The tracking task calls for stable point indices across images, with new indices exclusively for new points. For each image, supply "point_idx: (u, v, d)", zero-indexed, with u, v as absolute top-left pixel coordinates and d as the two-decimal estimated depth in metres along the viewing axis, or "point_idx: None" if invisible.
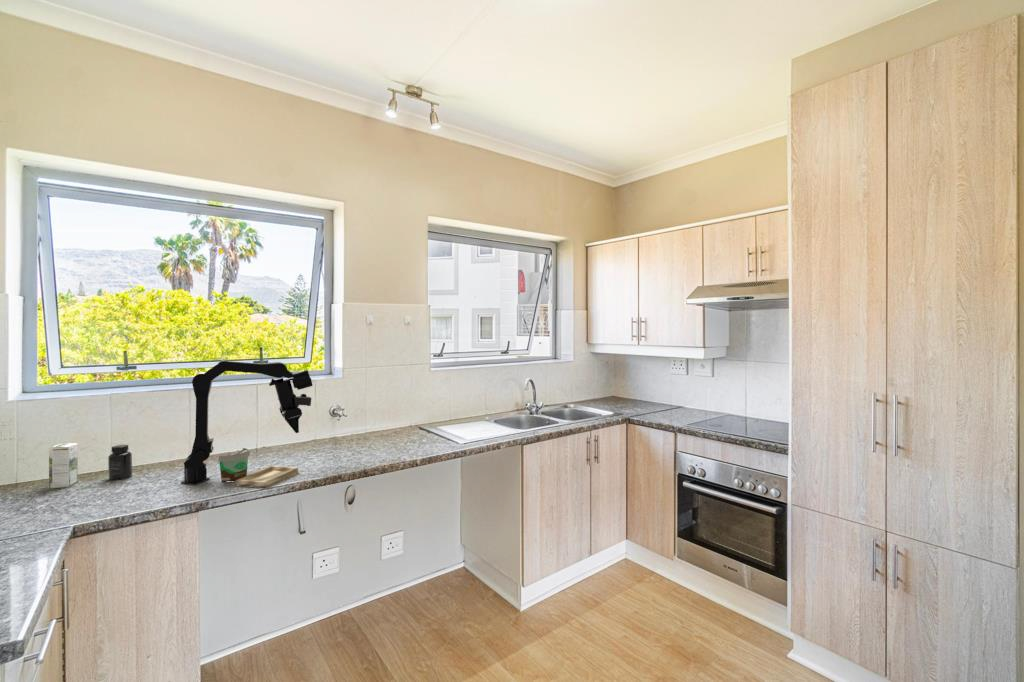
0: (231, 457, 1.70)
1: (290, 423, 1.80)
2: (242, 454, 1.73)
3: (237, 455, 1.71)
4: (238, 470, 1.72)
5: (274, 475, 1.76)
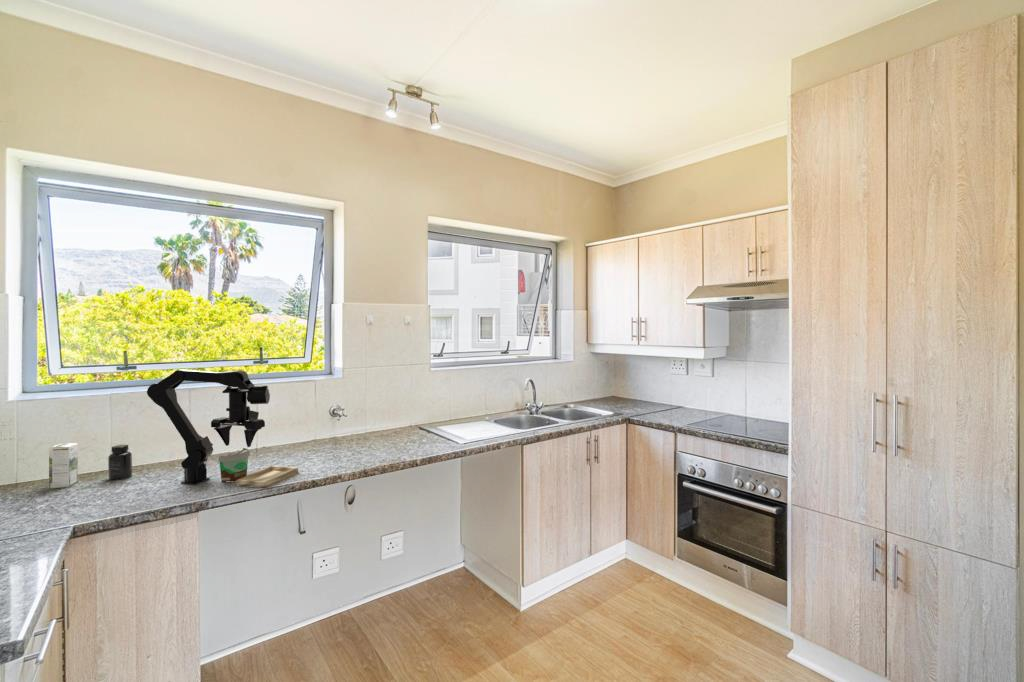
0: (231, 457, 1.70)
1: (249, 435, 1.71)
2: (242, 454, 1.73)
3: (237, 455, 1.71)
4: (238, 470, 1.72)
5: (274, 475, 1.76)
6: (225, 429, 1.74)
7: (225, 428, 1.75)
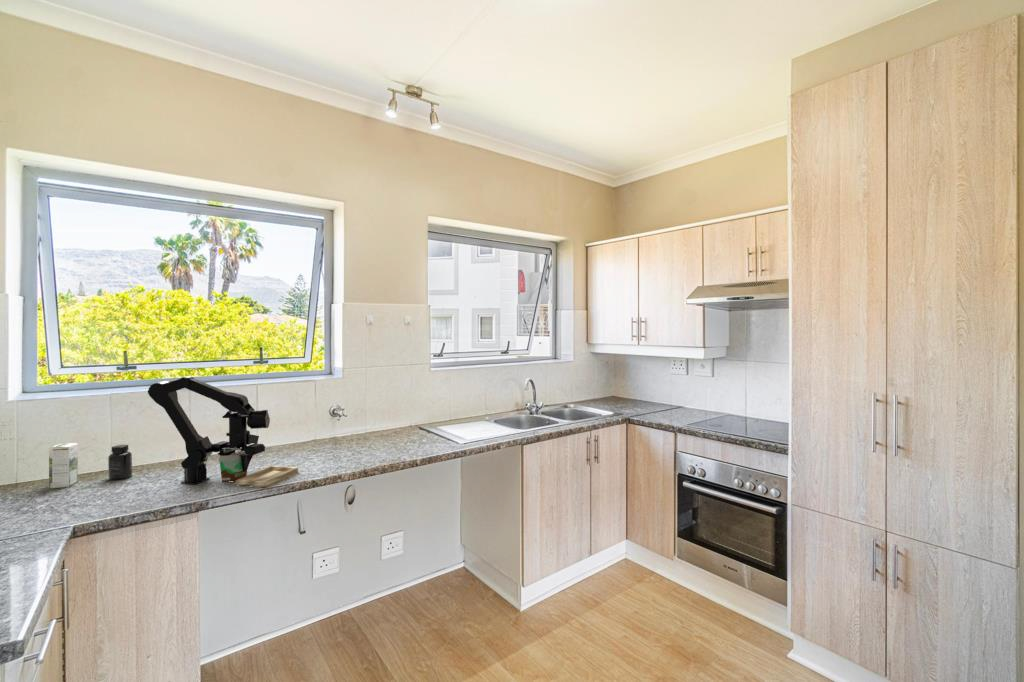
0: (231, 457, 1.70)
1: (245, 460, 1.72)
2: None
3: (237, 455, 1.71)
4: (238, 470, 1.72)
5: (274, 475, 1.76)
6: (229, 453, 1.74)
7: (229, 453, 1.74)
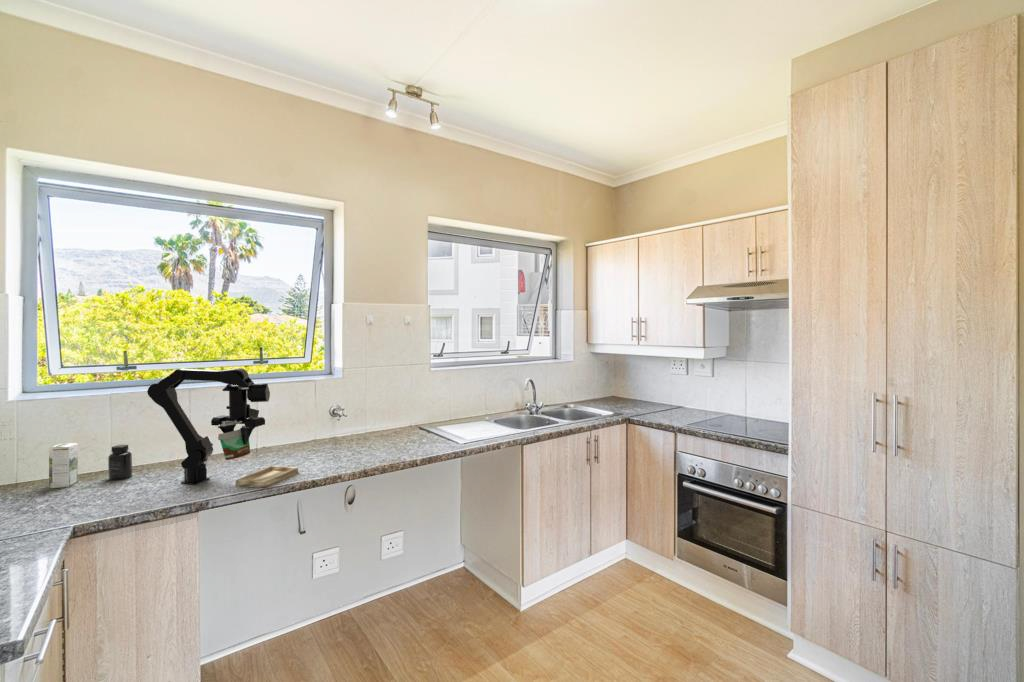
0: (231, 433, 1.69)
1: (245, 433, 1.71)
2: None
3: (236, 431, 1.71)
4: (240, 446, 1.72)
5: (274, 475, 1.76)
6: (229, 427, 1.74)
7: (230, 426, 1.74)
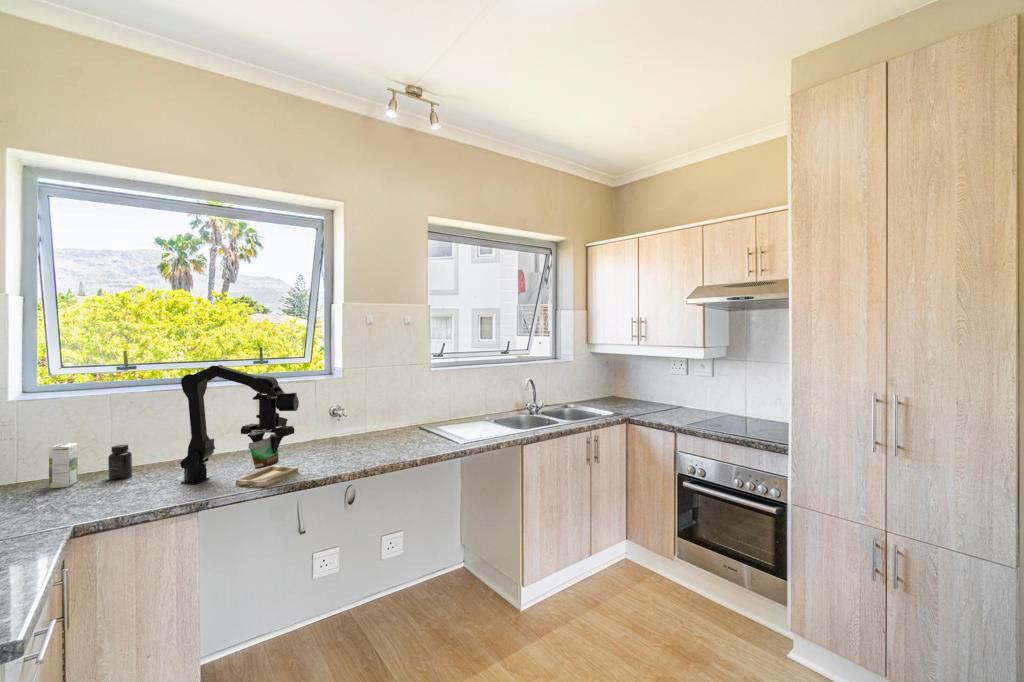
0: (261, 443, 1.69)
1: (275, 442, 1.71)
2: None
3: (266, 440, 1.71)
4: (269, 455, 1.72)
5: (274, 475, 1.76)
6: (258, 436, 1.74)
7: (259, 435, 1.74)
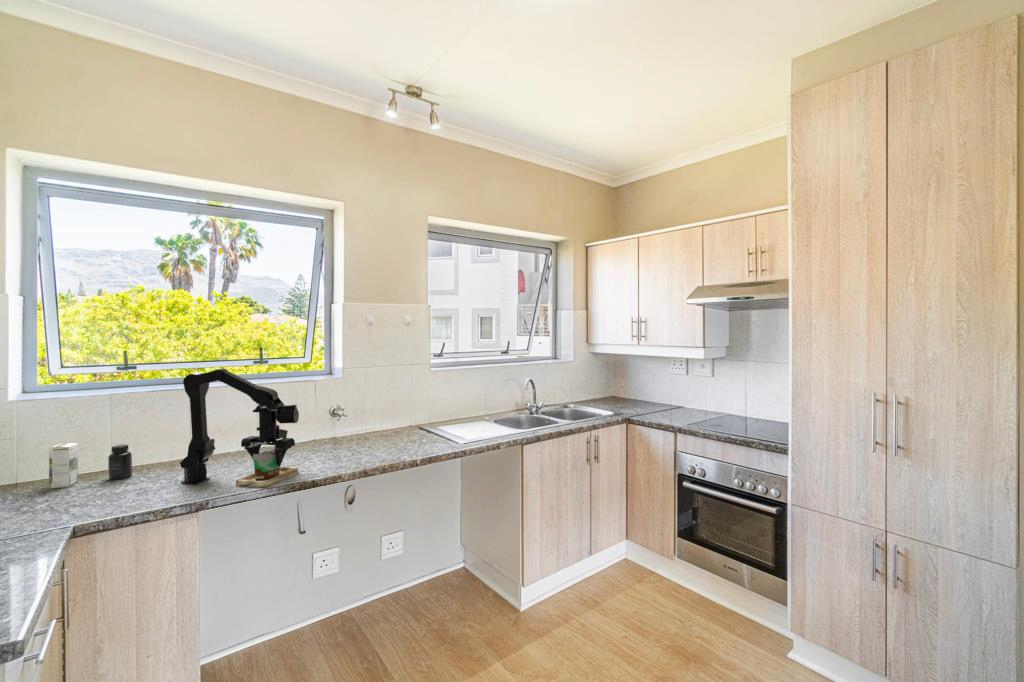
0: (265, 455, 1.70)
1: (279, 454, 1.71)
2: None
3: (271, 453, 1.71)
4: (271, 468, 1.72)
5: None
6: (255, 448, 1.74)
7: (255, 447, 1.75)
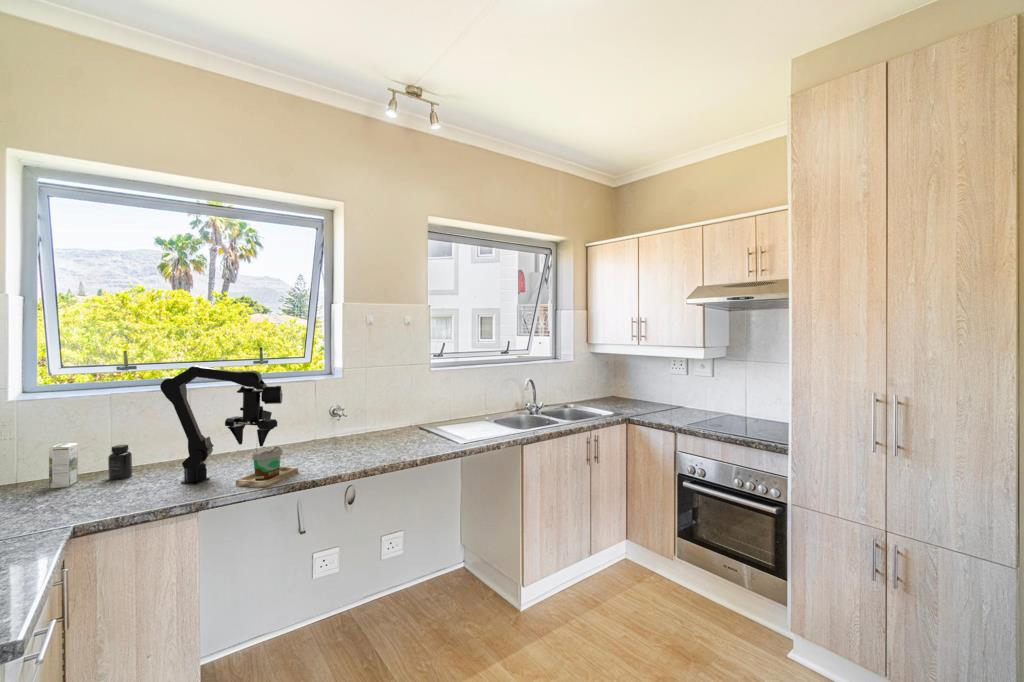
0: (265, 455, 1.70)
1: (262, 435, 1.74)
2: (276, 452, 1.73)
3: (271, 453, 1.71)
4: (271, 468, 1.72)
5: None
6: (238, 428, 1.77)
7: (239, 427, 1.77)
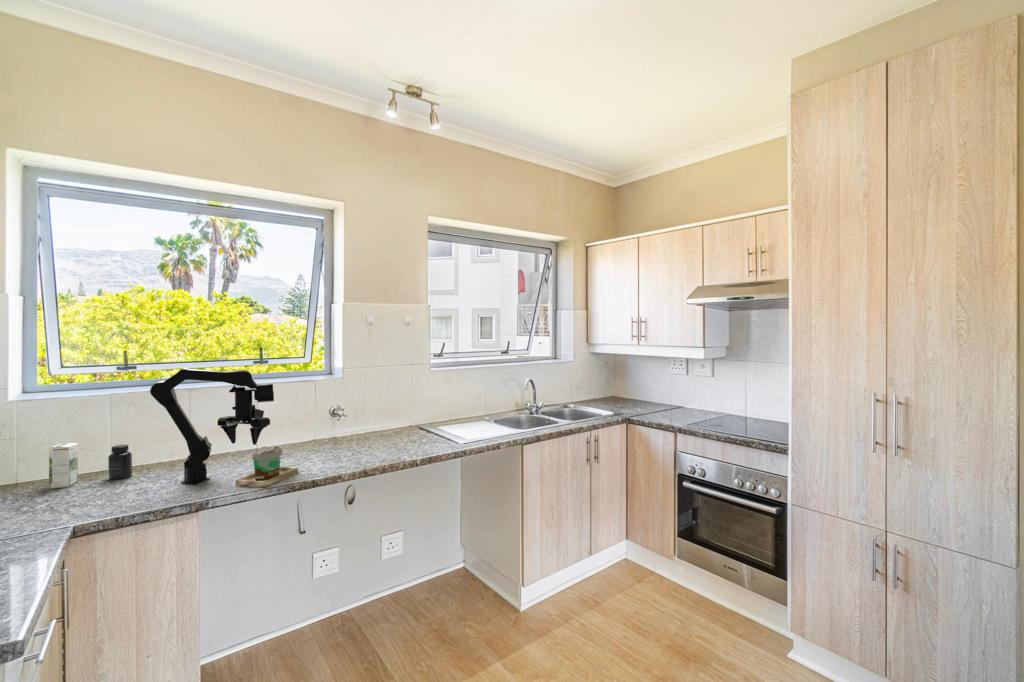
0: (265, 455, 1.70)
1: (255, 433, 1.75)
2: (276, 452, 1.73)
3: (271, 453, 1.71)
4: (271, 468, 1.72)
5: None
6: (231, 427, 1.78)
7: (232, 426, 1.79)
